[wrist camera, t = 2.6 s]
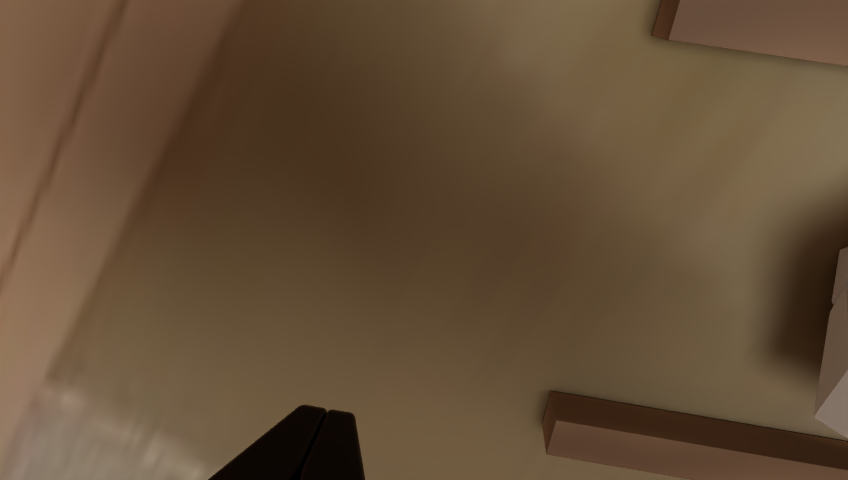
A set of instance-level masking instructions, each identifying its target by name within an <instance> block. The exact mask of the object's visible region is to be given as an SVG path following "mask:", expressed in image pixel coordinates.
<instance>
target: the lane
mask: <svg viewBox="0 0 848 480" xmlns="http://www.w3.org/2000/svg"><path fill="white" fill-rule="evenodd" d="M652 36H655V37H659V38H663V39H668V40H674V41H681V42H688V43H694V44H701V45H708V46H715V47H721V48H728V49H735V50H742V51H749V52H755V53H762V54H769V55H776V56H782V57H789V58H796V59H803V60H810V61H816V62H823V63H830V64H837V65H844V66H848V0H662V1H661V5H660V8H659V12H658V15H657V19H656V22H655V26H654V29H653V33H652ZM542 427H543V434H544V441H545V448H546V454H548V455H553V456H559V457H565V458H571V459H576V460H582V461H588V462H594V463H599V464H605V465H611V466H617V467H622V468H628V469H634V470H640V471H645V472H651V473H657V474H663V475H668V476H674V477H680V478H686V479H691V480H848V442H847V441H841V440H835V439H830V438H824V437H818V436H812V435H806V434H800V433H794V432H788V431H782V430H777V429H771V428H765V427H759V426H753V425H747V424H741V423H735V422H730V421H724V420H718V419H712V418H706V417H700V416H694V415H688V414H683V413H677V412H671V411H665V410H659V409H653V408H647V407H641V406H636V405H630V404H624V403H618V402H612V401H606V400H600V399H594V398H588V397H583V396H577V395H571V394H565V393H559V392H553V391H551V394H550V398H549V401H548V405H547V408H546V412H545V415H544V419H543V422H542Z"/></svg>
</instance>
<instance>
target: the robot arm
mask: <svg viewBox="0 0 848 480" xmlns="http://www.w3.org/2000/svg"><path fill="white" fill-rule="evenodd" d="M208 480H365V475H364V469H363V463H362V457H361V451H360V445H359V438H358V432H357V426H356V420H355V416H354V414H353V413H350V412H344V411H338V410H329V411H328V412H327V410H326V409H325V408H321V407H315V406H310V405H301V406H299V407H298V408H296V409H295V410H294V411H293V412H291V413H290V414H289V415H288V416H286V417H285V418H284V419H283V420H281V421H280V422H279V423H278V424H276V425H275V426H274V427H273V428H271V429H270V430H269V431H268V432H266V433H265V434H264V435H263V436H262V437H260V438H259V439H258V440H257V441H255V442H254V443H253V444H252V445H250V446H249V447H248V448H247V449H245V450H244V451H243V452H242V453H240V454H239V455H238V456H237V457H235V458H234V459H233V460H232V461H230V462H229V463H228V464H227V465H226V466H224V467H223V468H222V469H221V470H219V471H218V472H217V473H216V474H214V475H213V476H212V477H211V478H209V479H208Z"/></svg>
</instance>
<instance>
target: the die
mask: <svg viewBox="0 0 848 480" xmlns="http://www.w3.org/2000/svg"><path fill="white" fill-rule="evenodd" d="M832 303H833V305H834V306H833V308H832V310H831V311H830V315H829V321H828V327H827V334H826V340H825V346H824V353H823V359H822V365H821V372H820V378H819V384H818V391H817V397H816V403H815V410H814V416H813V417H814V418H815V419H817V420H819V421H820V422H822V423H823V424H825V425H827V426H828V427H830V428H831V429H833V430H835V431H836V432H838V433H839V434H841V435H843V436H844V437H846V438H847V439H848V247H846V248H843V249H840V252H839V258H838V264H837V271H836V277H835V283H834V290H833V296H832Z"/></svg>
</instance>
